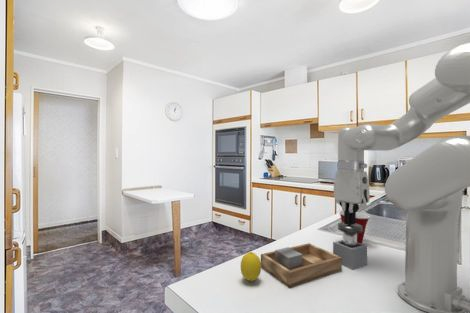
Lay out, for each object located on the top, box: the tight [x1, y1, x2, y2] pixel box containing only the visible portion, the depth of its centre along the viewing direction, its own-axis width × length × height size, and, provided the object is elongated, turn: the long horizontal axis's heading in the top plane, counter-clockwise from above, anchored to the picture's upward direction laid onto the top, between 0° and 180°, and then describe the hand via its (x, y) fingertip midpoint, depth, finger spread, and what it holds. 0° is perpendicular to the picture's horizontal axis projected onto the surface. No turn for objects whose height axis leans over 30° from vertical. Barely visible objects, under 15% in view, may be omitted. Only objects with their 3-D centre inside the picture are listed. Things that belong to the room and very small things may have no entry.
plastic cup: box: [338, 210, 371, 244], centre depth 94 cm, size 11×11×12 cm
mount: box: [332, 239, 368, 270], centre depth 77 cm, size 7×7×6 cm
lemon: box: [240, 251, 262, 282], centre depth 66 cm, size 6×6×8 cm
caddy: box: [260, 242, 343, 289], centre depth 73 cm, size 13×20×6 cm, turn 118°
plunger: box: [337, 221, 362, 248], centre depth 77 cm, size 7×7×8 cm
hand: (349, 223), depth 77 cm, fingers closed
